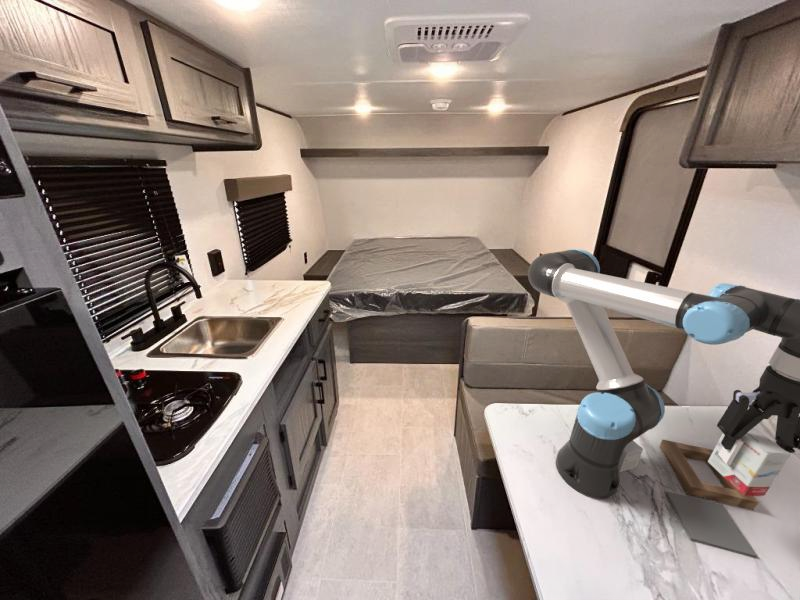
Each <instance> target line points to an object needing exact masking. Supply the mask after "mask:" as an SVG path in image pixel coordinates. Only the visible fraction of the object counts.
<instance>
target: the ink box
mask: <svg viewBox="0 0 800 600" xmlns="http://www.w3.org/2000/svg"><path fill="white" fill-rule="evenodd" d="M724 436H725V435H724V434H723V432H722V434H721V436H719V437H720V438H719V439H718V442H717V443H716V444H715V446H714V448H713V449H712V450H713V452H712V454H711V456H710V458H709V460H708V462H709V463H710V464H711V465H712V466H713V467H714V468H715V469H716V470H717V471H718V472H719V473H720V474H721V475H722V476H723V477H724V478H725V479H726V480H728V481H729V482H730V483H731V484H732V485H733V486H734V487H735V488H736V489H737V490H738V491H739V492H740V493H741V494H742V495H744V496H754V497H761V496H765V495H766V493H767V492H768V490H769V489H770V488H771V486H772V484H773V483H774V481H775V479H776V478H777V477H778V475H779V473H780V472H781V470H782V469H783V467H784V466H785V464H786V463H787V461H788V459H789V458H790V456H791V453H789V452H786V451H785V450H784V449H782V448H781V447H779V446H778V445H777V444H775V443H774V442H773V441H771V440H772V439H770V438H769V437H767V436H766V435H765V434H763V433H762V432H761V431H759V430H758V429H757V428H756V427H754V428H752V429H751V430H750V431H749V432H748V433H746V434H745V435H744V436H743V437H742V438H741V440H742V441H743V444H742V446H741V448H740V449H739V451H738V453H737V454H736V456H735V458H734V460H733V461H732V463H731V465H728V464H725V462H724V461H723V460H722V458H721V457H720V456H719V452H720V450H721V449H722V447H723V446H722V444H721V441H722V440H723V438H724Z"/></svg>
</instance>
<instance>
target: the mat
mask: <svg viewBox="0 0 800 600" xmlns="http://www.w3.org/2000/svg"><path fill="white" fill-rule="evenodd" d="M665 493H666V495H667V498H668V499H669V501H670V503H671V505H672V507H673V509H674V511H675V513H676V514H677V517H678V519H679V521H680V523H681V525H682V526H683V528H684V531H685V532H686V534H687V537H688V539H689V540H690V541H692V542H696V543H699V544H700V543H701V544H703V545H704V544H705V545H708V546H711V547H714V548H719V549H722V550H725V551H729V552H733V553H737V554H741V555H744V556H748V557H752V558H757V557H758V556H757V554H756V553H755V551H754V550H753V547H752V546H751V544H750V543H749V542H748V540H747V539H746V537H745V536H744V534H743V533H742V532H741V529H740V528H739V527H738V525H737V524H736V522H735V520H734V519H733V518H732V516H731V515H730V513H729V511H728V510H727V509H726V507H725V505H724V503H720V502H716V501H712V500H707V499H703V498H699V497H695V496H691V495H687V494H686V495H685V494H681V493H676V492H673V491H670V490H666V491H665Z"/></svg>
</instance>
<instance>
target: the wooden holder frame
mask: <svg viewBox="0 0 800 600" xmlns="http://www.w3.org/2000/svg"><path fill="white" fill-rule="evenodd" d="M659 444H660V445H659V449H660V451H661V453H662V454H663V456H664V457H665V460H666V461H667V463H668V464H669V467H670V468H671V469H672V471H673V474H674V475H675V477H676V479H677V480H678V482H679V483H680V486H681V487H682V489H683V491H684V493H685V494H686V496H690V497H694V498H698V499H702V500H706V501H711V502H715V503H719V504H723V505H724V504H725V505H729V506H733V507H737V508H740V509H741V508H742V509H745V510H750V511H754V510H755V509H756V508H757V506H758V505H759V503H760V502H759V500H758V499H757V498H756V496H744V495H742V494H741V493H740V492H739V491H738V490H737V489H736V488H735V487H734V486H733V485H732V484H731V483H730V482H729V481H728V480H726V479H725V478H724V477H723V476H722V475H721V474H720V473H719V472H718V471H717V470H716V469H715V468H714V467H713V466H712V465H711V464H710V463H709V462H708V460H709V458H710V456H711V454H712V452H713V450H714V449H710V448H705V447H701V446H697V445H691V444H686V443H680V442H676V441H672V440H668V439H662V440H661V442H660V443H659ZM688 459H690V460H695V461H700V462H703V463H704V462H705V464H706V465H708V467H709V468H710V470H711V471H712V473H713V474H714V475H715V477H716V479H717V480H718V481H719V483H720V484H721V485H720V486H719V485H714V484H711V483H706V482H702V481H701V480H700V478H699V476H698V474H696V472H695V470H694V469H693V467H692V465H691V464H690V462H689V461H688Z"/></svg>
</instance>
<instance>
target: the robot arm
mask: <svg viewBox="0 0 800 600" xmlns="http://www.w3.org/2000/svg"><path fill="white" fill-rule="evenodd" d="M599 263H600V262H599V261H598V259H597V257H595V255H594V254H592V253H591V252H589V251H587V250H584V249H567V250H562V251H556V252H548V253H543V254H540V255H539V256H537V257H536V258H535V259H534V260H533V261H532V262H531V264H530V265H529V268H528V270H527V277H528V281H529V283H530V285H531V286H532V288H533V289H534V290H536V291H537V292H539V293H540V294H544V295H546V296H549V297H553V298H556V299H558V301H560V302H564V303H565V304H566V306H567V308H568V311H569V313H570V315H571V318H572V320H573V323H574V324H575V327H576V329H577V331H578V334H579V336H580V339H581V341H582V343H583V346H584V348H585V351H586V353H587V355H588V357H589V359H590V362H591V364H592V367H593V369H594V372H595V373H596V376H597V378H598V381H597V385H596V386H595V387H596V391H597V392H592V393H589V394H587V395H585V396H584V398H582V400H581V402H580V404H579V406H578V408H577V412H576V417H575V419H574V423H573V426H572V430H571V433H570V436H569V440H568V441H567V442H565V444H564V445H562V447H561V448H560V449H559V450H558V452H557V454H556V458H555V467H556V470H557V471H558V472H557V473H558V474H559V476H560V477H561V478H562V479H563V481H564V482H565V483H566V484H568V485H569V486H570V487H571V488H572V489H574V490H575V491H576V492H579V493H581V494H583V495H585V496H587V497H591V498H593V499H599V500H600V499H601V500H602V499H609V498H611V497H614V496H615V495H616V494H617V492H618V489H619V487H620V483H621V482H620V481H621V476H620V472H619V466H618V463H619V461H620V458H621V456H622V453H623V451H624V448H625V447H626V445H627V444H628V443H630V442H631V441H635V440H636V439H637V438H639V437H641V436H643V435H644V434H645V433H647V432H648V431H650V430H652V429H655V427H657V425H658V424H659V423H660V422H661V421H662V419H663V418H664V415H665V412H666V411H665V410H666V409H665V408H666V407H665V403H664V400H663V398H662V397H661V395H660V393H659V392H658V391H657V390H656V389H655V388H652V387H651V386H650V385H649V384H647V383H646V382H645V380H644V378H643V377H642V376H641V375H639V374H637V373H634V371H633V369H632V367H631V365H630V362H629V361H628V358H627V356H626V353H625V351H624V349H623V348H622V345H621V343H620V340H619V338H618V336H617V334H616V332H615V329H614V327H613V326H612V322H611V321H610V319H609V315H608V313H607V312H606V310H605V309H609V310H611V311H615V312H618V313H622V314H626V315H629V316H634V317H635V318H640V319H644V320H647V321H651V322H653V323H658V324H662V325H665V326H668V327H672V328H675V329H679V330H682V331H685V332H686V334H687V335H688V336H689V337H690V338H692V339H693V340H694V341H696V342H698V343H702V344H705V345H712V346H713V345H714V346H715V345H722V344H726V343H729V342H734V341H736V340H738V339H740V338H742V337H743V336H744V335H745V334H746V333H748V332H750V331H752V330H754V331H757V332H761V333H764V334H766V335H771V336H774V337H779V338H781V340H780V342H779V344H778V346H777V347H776V348H775V351H774V352H773V354H772V355H771V358H770V359H769V361H768V364H769V365H767V366H766V367H765V369H764V371H763V372H762V375H761V376H760V378H759V385H758V386H757V388H755V389H754V390H752V392H751V391H750V392H743V391H741V390H739V389H736V390H734V391H733V394H732V395H733V396H732V399H731V401H730V404H729V405H728V406H727V408H726V410H725V411H724V413H723V415H722V417H721V418H720V419H719V420H718V422H717V424H716V426H717V428H718V429H719V430H720V431H721V432H722V433H723V434H724V435H725V436H724V438H723V440H722V441H721V444H722V446H723V447H722V449H721V450H720V452H719V456H720V457H721V458H722V460H723V461H724V462H725V464H728V465H731V463H732V461H733V460H734V458H735V456H736V454H737V453H738V451H739V449H740V448H741V446H742V444H743V441H742V440H741V438H742V437H743V436H744V435H745V434H746V433H748V432H749V431H750V430H751V429H752V428H756V426H757V425H758V424H760V423H761V422H762V421H763V420H769V418H771V417H772V416H777V418H776V425H775V427H776V428H775V435H774V436H775V437H774V439H775V440H773V439H770V440H771V441H773V442H774V443H775V444H777V445H778V446H779V447H781V448H782V449H784V450H785V451H786V452H788V453H789V454H794V453H795V452H796V450H795V449H797V450H799V451H800V298H792V297H788V296H784V295H779V294H775V293H771V292H767V291H764V290H760V289H759V290H758V289H754V288H750V287H747V286H745V285H737V284H731V283H725V282H724V283H719V284H717V285H715V286H714V287H713V288H712V289H711V290H710V291H709V293H707V295H706V294H701V293H695V292H692V291H687V290H682V289H677V288H672V287H669V286H663V285H659V284H658V285H657V284H653V283H648V282H644V281H637V280H633V279H628V278H623V277H618V276H613V275H608V274H604V273H600V271H601V268H600V264H599Z"/></svg>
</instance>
